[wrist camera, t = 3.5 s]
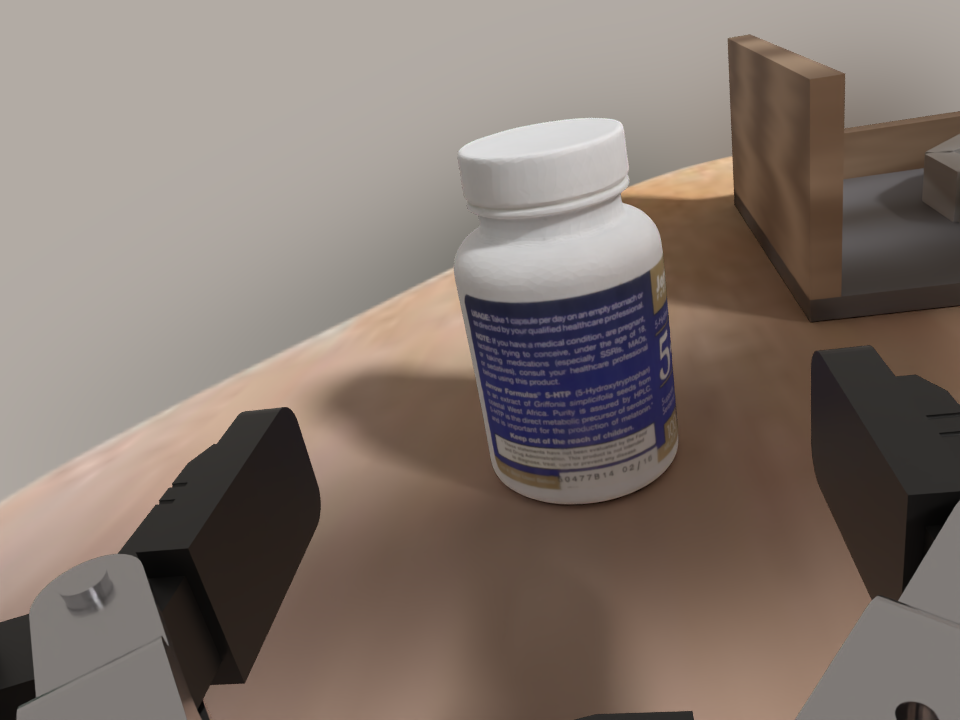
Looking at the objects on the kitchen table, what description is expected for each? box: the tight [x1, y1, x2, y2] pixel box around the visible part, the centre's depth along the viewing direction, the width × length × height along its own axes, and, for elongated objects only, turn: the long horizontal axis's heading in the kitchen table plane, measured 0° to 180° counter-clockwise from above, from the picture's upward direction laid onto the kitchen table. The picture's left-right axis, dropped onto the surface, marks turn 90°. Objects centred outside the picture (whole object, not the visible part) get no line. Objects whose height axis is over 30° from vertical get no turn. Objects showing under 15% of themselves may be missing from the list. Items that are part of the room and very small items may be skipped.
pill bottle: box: [454, 118, 678, 504], centre depth 21 cm, size 5×5×9 cm
